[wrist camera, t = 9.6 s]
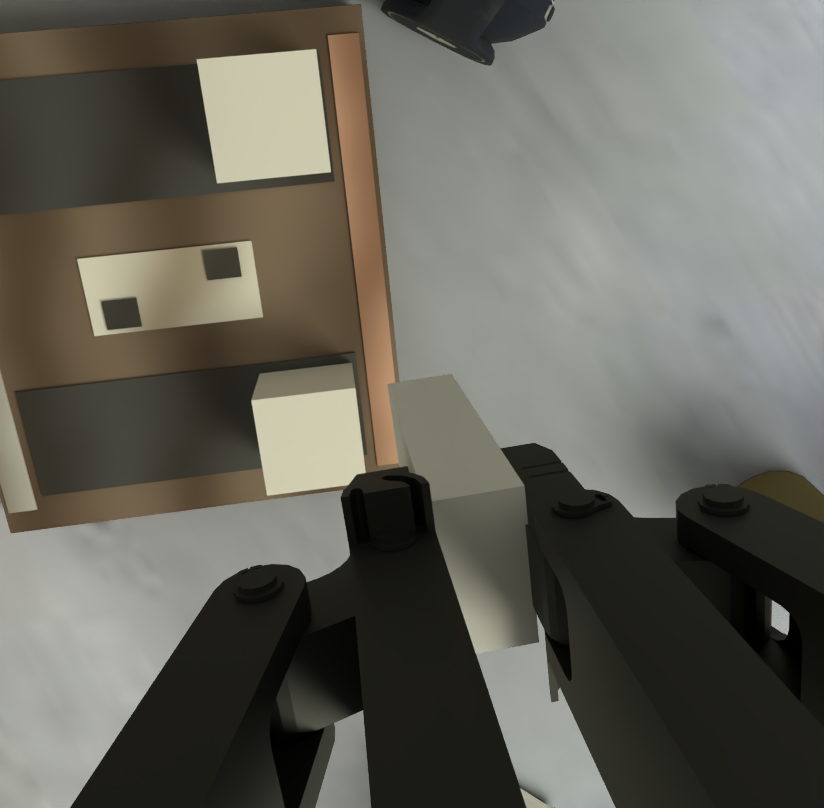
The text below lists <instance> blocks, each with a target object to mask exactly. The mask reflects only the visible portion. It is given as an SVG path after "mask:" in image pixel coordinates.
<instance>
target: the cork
mask: <svg viewBox="0 0 824 808" xmlns="http://www.w3.org/2000/svg"><path fill="white" fill-rule="evenodd" d="M738 487H741V488H746V489H749V490H752V491H755V492H758V493H760V494H763V495H765V496H767V497H769V498H771V499H773V500H776V501H778V502H780V503H782V504H784V505H786V506H789V507H791V508H793V509H795V510H797V511H799V512H802V513H804V514H806V515H808V516H810V517H812V518H815V519H817V520H819V521H821V522H823V523H824V495H823V494H822V493H821V492H820V491H819V490H818V489H817V488H815V487H814V486H813V485H812V484H811V483H810V482H809V481H807V480H806V479H805V478H804V477H803V476H800V475H797V474H794V473H792V472H789V471H769V472H766V473H763V474H759V475H756V476H753V477H752V478H750V479H748V480H747V481H745V482H744V483H742V484H740V485H739V486H738Z"/></svg>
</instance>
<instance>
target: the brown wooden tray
mask: <svg viewBox="0 0 824 808" xmlns="http://www.w3.org/2000/svg"><path fill="white" fill-rule="evenodd" d="M311 49H316V52H317V60H318V68H319V76H320V85H321V93H322V101H323V110H324V118H325V126H326V134H327V143H328V151H329V159H330V168H331V172H328V173H318V174H308V175H297V176H287V177H277V178H267V179H257V180H247V181H237V182H226V183H217V180H216V174H215V168H214V162H213V156H212V150H211V144H210V138H209V132H208V125H207V119H206V113H205V107H204V101H203V95H202V89H201V83H200V77H199V71H198V65H197V59H207V58H218V57H230V56H241V55H253V54H265V53H276V52H288V51H300V50H311ZM345 363H352V368H353V375H354V382H355V389H356V397H357V405H358V413H359V422H360V430H361V438H362V446H363V455H364V463H365V471H366V473H368V472H374V471H380V470H386V469H392V468H398V467H399V461H398V454H397V447H396V441H395V434H394V427H393V420H392V413H391V406H390V399H389V393H388V386H387V384H391V383H397V382H399V373H398V363H397V353H396V343H395V333H394V324H393V314H392V304H391V294H390V285H389V275H388V265H387V255H386V246H385V236H384V226H383V216H382V207H381V197H380V187H379V177H378V168H377V158H376V148H375V138H374V129H373V119H372V109H371V99H370V89H369V80H368V70H367V60H366V50H365V41H364V31H363V21H362V11H361V4H357V5H345V6H333V7H321V8H308V9H296V10H284V11H272V12H260V13H247V14H235V15H223V16H211V17H198V18H186V19H174V20H162V21H150V22H137V23H125V24H113V25H101V26H89V27H76V28H64V29H52V30H40V31H27V32H15V33H3V34H0V497H1V501H2V504H3V508H4V511H5V515H6V518H7V522H8V525H9V529H10V532H11V533H17V532H24V531H32V530H39V529H47V528H55V527H62V526H70V525H78V524H85V523H93V522H101V521H108V520H116V519H123V518H131V517H139V516H146V515H154V514H162V513H169V512H177V511H185V510H192V509H200V508H207V507H215V506H223V505H230V504H238V503H246V502H253V501H261V500H269V499H276V498H284V497H291V496H299V495H307V494H314V493H322V492H330V491H337V490H344V489H346V488H347V486H348V485H346V486H338V487H330V488H323V489H315V490H308V491H300V492H292V493H285V494H277V495H269V496H267V492H266V486H265V480H264V474H263V468H262V462H261V456H260V450H259V444H258V438H257V432H256V426H255V420H254V414H253V408H252V402H251V400H252V397H253V393H254V390H255V387H256V384H257V381H258V377H259V374H260V373H269V372H277V371H286V370H294V369H303V368H311V367H320V366H328V365H336V364H345Z"/></svg>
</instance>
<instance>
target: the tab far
mask: <svg viewBox="0 0 824 808" xmlns="http://www.w3.org/2000/svg"><path fill="white" fill-rule="evenodd" d="M251 402H252V408H253V414H254V420H255V426H256V432H257V438H258V444H259V450H260V456H261V462H262V468H263V474H264V480H265V486H266V492H267V496H269V495H277V494H285V493H292V492H300V491H308V490H315V489H323V488H330V487H338V486H346V485H349V484H350V482H351V481H352V480H353V479H354V477H355V476H356V475H357V474H362V473H366V471H365V463H364V455H363V446H362V438H361V430H360V422H359V413H358V405H357V397H356V389H355V382H354V375H353V368H352V363H345V364H336V365H328V366H320V367H311V368H303V369H294V370H286V371H277V372H269V373H260V374H259V377H258V381H257V384H256V387H255V390H254V393H253V397H252V400H251Z"/></svg>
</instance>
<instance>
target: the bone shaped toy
mask: <svg viewBox="0 0 824 808" xmlns="http://www.w3.org/2000/svg"><path fill="white" fill-rule="evenodd" d="M520 790H521V793H522V796H523V799H524V802H525V805H526V808H555V807H553V806H551V805H546V804H545V803H543V802H541V801H540V800H538V799H537V798H535V797H534V796H532V795H530V794H529V793H527V792H526V791H524V790H522V789H521V788H520Z"/></svg>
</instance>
